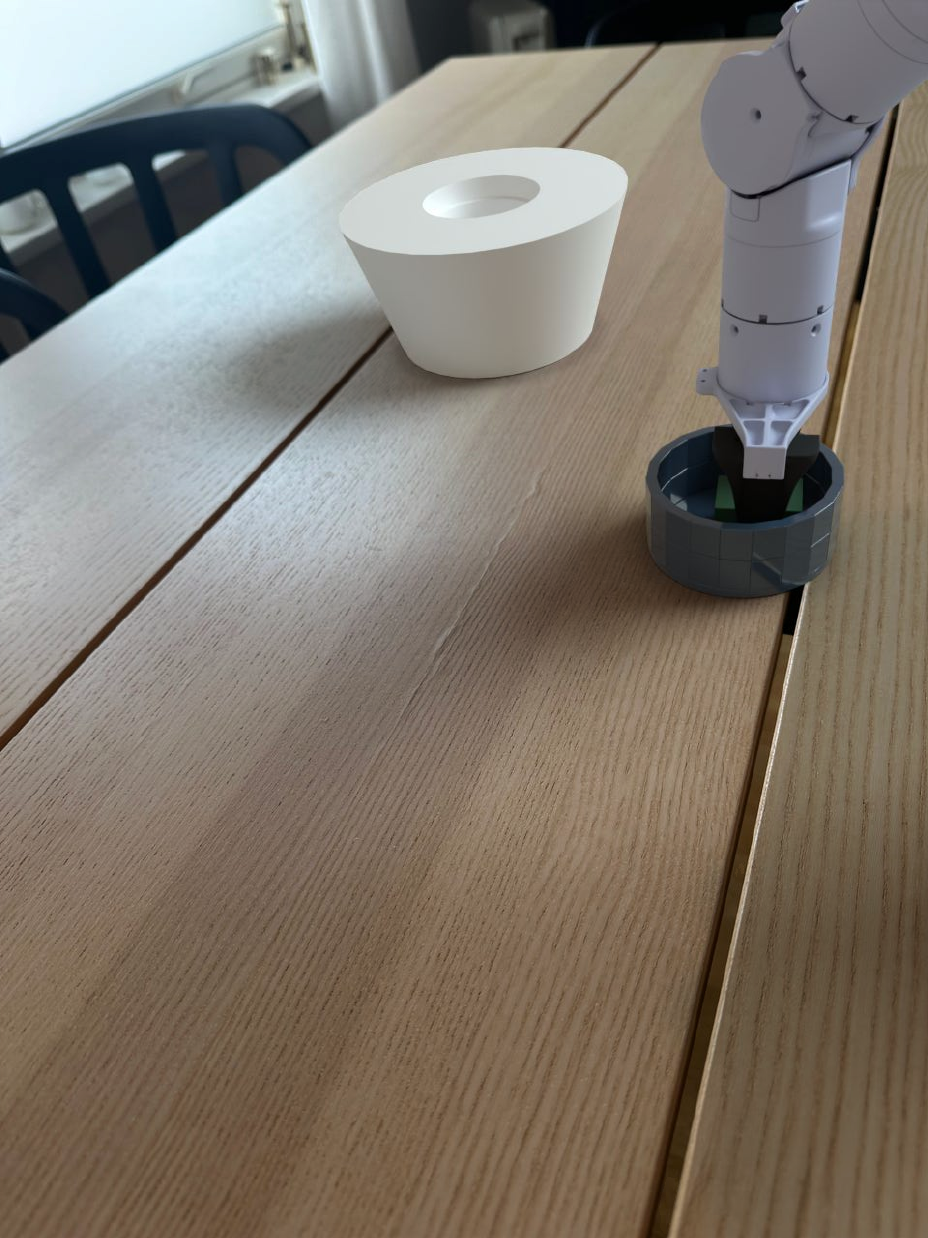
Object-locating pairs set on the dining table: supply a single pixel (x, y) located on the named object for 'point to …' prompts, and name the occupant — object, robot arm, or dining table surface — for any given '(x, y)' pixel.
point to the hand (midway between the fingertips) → (760, 511)
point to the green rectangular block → (726, 507)
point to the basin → (736, 524)
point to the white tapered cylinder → (489, 255)
